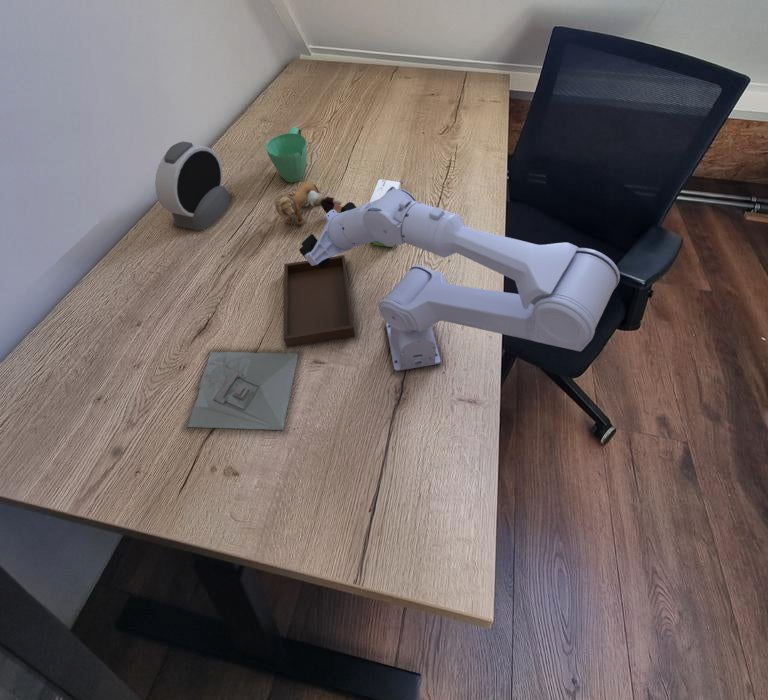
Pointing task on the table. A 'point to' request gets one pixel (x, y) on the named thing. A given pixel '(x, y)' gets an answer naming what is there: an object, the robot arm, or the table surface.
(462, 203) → the table surface
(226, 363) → the grey green square plate
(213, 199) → the alarm clock
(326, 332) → the tray
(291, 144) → the mug
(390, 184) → the ink box
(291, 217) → the lion figurine
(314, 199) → the grandmother figurine
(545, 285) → the robot arm
